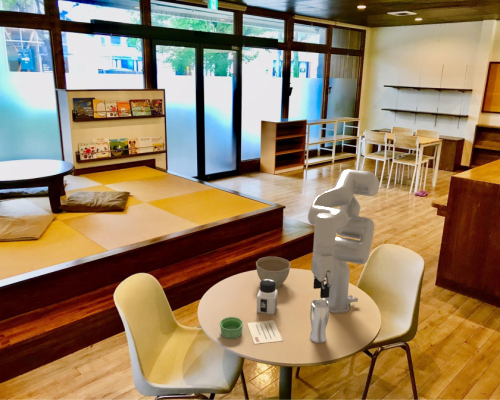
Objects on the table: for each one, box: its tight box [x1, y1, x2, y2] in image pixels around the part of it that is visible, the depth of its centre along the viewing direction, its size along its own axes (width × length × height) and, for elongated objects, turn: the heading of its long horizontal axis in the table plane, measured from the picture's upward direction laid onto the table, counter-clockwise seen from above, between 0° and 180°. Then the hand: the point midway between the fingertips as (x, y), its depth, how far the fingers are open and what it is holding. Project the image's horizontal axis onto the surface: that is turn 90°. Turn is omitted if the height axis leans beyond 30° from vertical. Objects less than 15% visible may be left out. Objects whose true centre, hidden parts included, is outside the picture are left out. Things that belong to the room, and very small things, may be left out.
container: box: [256, 279, 279, 315], centre depth 178 cm, size 8×8×13 cm
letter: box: [246, 319, 284, 345], centre depth 164 cm, size 11×14×1 cm
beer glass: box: [309, 298, 330, 344], centre depth 158 cm, size 7×7×15 cm
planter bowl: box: [255, 256, 291, 289], centre depth 200 cm, size 16×16×11 cm
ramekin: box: [219, 316, 244, 340], centre depth 162 cm, size 9×9×4 cm
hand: (321, 292), depth 155 cm, fingers open, 6 cm apart
